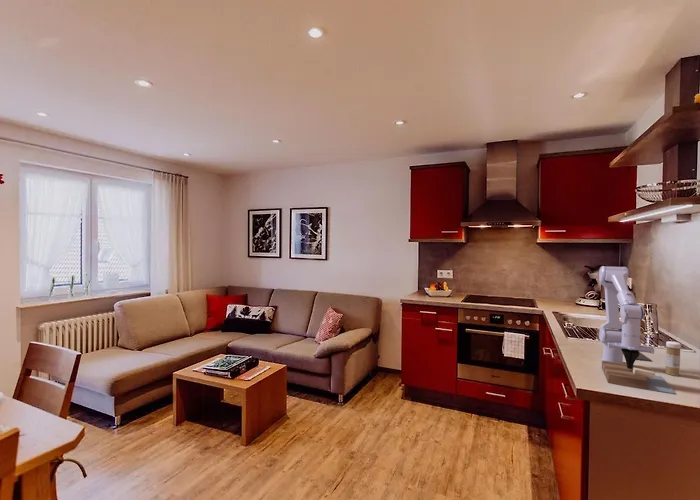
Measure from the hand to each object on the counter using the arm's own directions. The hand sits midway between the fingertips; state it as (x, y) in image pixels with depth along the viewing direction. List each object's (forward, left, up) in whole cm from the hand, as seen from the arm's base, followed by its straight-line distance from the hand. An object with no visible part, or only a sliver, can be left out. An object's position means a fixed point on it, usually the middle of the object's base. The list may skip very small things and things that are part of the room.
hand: (629, 368), depth 142 cm
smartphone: (-38, +9, -5) cm, 39 cm away
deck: (0, -2, -4) cm, 5 cm away
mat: (0, +8, -4) cm, 9 cm away
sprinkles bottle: (-16, +17, -5) cm, 24 cm away
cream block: (0, +4, -1) cm, 4 cm away
